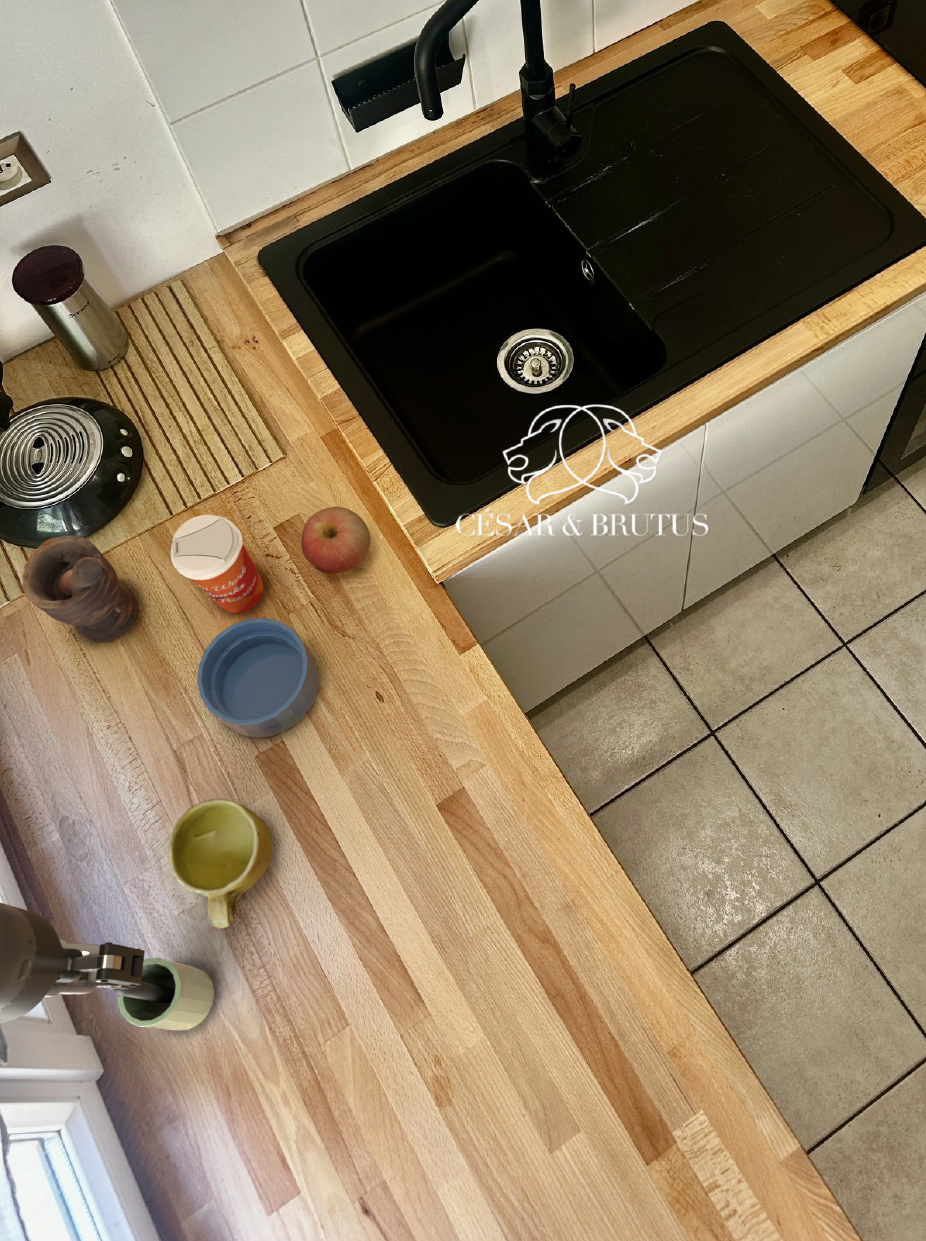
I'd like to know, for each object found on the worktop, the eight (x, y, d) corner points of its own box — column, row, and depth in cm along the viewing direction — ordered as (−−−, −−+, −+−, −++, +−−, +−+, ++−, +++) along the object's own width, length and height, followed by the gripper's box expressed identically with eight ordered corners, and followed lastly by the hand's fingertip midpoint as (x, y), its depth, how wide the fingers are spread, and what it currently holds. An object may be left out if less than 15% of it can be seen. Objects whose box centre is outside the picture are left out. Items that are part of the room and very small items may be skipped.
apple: (373, 583, 137) (360, 556, 130) (306, 585, 137) (289, 558, 130) (378, 522, 140) (365, 492, 133) (313, 524, 140) (296, 494, 133)
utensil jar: (153, 1032, 115) (114, 1028, 106) (160, 969, 117) (122, 960, 108) (211, 1028, 114) (177, 1024, 106) (217, 965, 117) (183, 956, 108)
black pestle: (163, 1019, 114) (95, 1010, 100) (167, 979, 116) (101, 965, 102) (199, 1016, 114) (137, 1007, 100) (203, 977, 116) (142, 962, 102)
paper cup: (209, 627, 135) (167, 581, 122) (206, 568, 138) (165, 518, 126) (276, 614, 135) (241, 566, 123) (271, 555, 139) (236, 504, 126)
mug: (179, 796, 124) (174, 796, 114) (277, 801, 126) (280, 801, 117) (161, 918, 120) (155, 928, 111) (263, 920, 123) (264, 931, 113)
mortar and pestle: (177, 581, 138) (111, 508, 120) (162, 650, 133) (91, 585, 116) (82, 579, 138) (3, 506, 120) (64, 648, 134) (-21, 583, 116)
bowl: (210, 742, 128) (192, 727, 123) (219, 640, 134) (203, 622, 129) (317, 735, 128) (304, 720, 123) (322, 633, 134) (309, 614, 129)
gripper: (90, 895, 81) (171, 923, 95) (-112, 909, 81) (-1, 934, 95) (73, 1013, 77) (160, 1024, 91) (-138, 1027, 77) (-18, 1036, 91)
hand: (78, 978), depth 93 cm, fingers open, 8 cm apart
